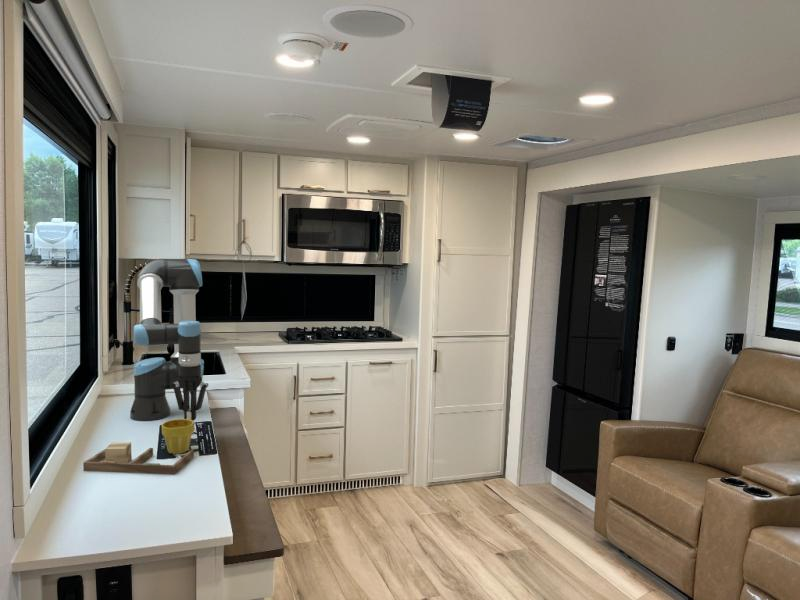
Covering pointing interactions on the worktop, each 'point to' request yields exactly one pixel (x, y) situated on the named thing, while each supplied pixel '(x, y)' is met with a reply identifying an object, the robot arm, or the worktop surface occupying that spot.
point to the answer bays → (135, 464)
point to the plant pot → (178, 435)
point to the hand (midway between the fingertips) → (190, 428)
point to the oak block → (118, 452)
